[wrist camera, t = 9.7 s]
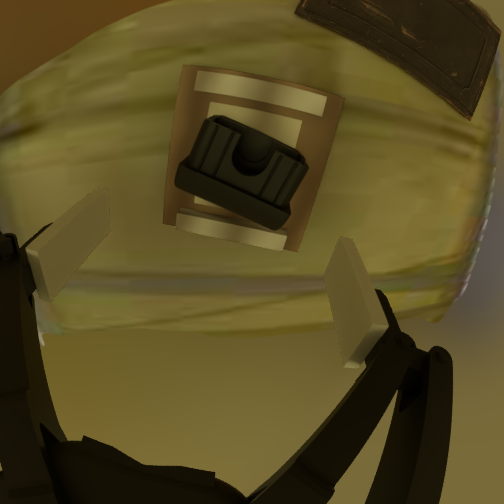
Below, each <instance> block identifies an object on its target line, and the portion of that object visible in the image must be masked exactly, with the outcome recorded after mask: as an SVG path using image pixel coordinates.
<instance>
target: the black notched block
mask: <svg viewBox="0 0 504 504" xmlns="http://www.w3.org/2000/svg"><path fill="white" fill-rule="evenodd" d="M308 170H309V166H308V164H307V163H306V159H305V157H304V156H303V155H302V154H300V152H299V151H298V150H296V149H294V148H292V147H290V146H288V145H286V144H284V143H282V142H280V141H278V140H276V139H274V138H272V137H270V136H268V135H266V134H264V133H262V132H260V131H258V130H256V129H253V128H251V127H249V126H247V125H245V124H242V123H240V122H238V121H236V120H233V119H231V118H229V117H226V116H224V115H213V116H211V117H209V118H207V119H204V121H203V123H202V126H201V128H200V130H199V133H198V135H197V137H196V140H195V142H194V145H193V147H192V149H191V152H190V154H189V155H188V156H187V157H186V158H185V159H184V160H182V161H181V162H180V163H179V166H178V168H177V171H176V175H175V180H174V185H175V187H176V188H178V189H181V190H183V191H185V192H188V193H190V194H192V195H194V196H197V197H199V198H201V199H204V200H206V201H208V202H210V203H213V204H215V205H217V206H219V207H222V208H224V209H226V210H228V211H231V212H233V213H235V214H237V215H239V216H242V217H244V218H246V219H248V220H250V221H253V222H255V223H257V224H259V225H261V226H264V227H266V228H268V229H270V230H272V231H277V230H279V229H280V228H281V227H282V226H283V225H284V224H285V223H286V221H287V220H288V219H289V217H290V215H291V209H290V201H291V199H292V197H293V195H294V194H295V192H296V190H297V189H298V187H299V185H300V183H301V182H302V180H303V178H304V177H305V175H306V173H307V171H308Z"/></svg>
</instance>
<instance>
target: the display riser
mask: <svg viewBox="0 0 504 504" xmlns="http://www.w3.org/2000/svg"><path fill="white" fill-rule="evenodd" d="M344 100H345V98H343V97H340V96H337V95H334V94H331V93H327V92H324V91H321V90H317V89H314V88H310V87H307V86H303V85H299V84H295V83H291V82H287V81H283V80H278V79H274V78H269V77H265V76H260V75H255V74H249V73H244V72H238V71H231V70H225V69H217V68H210V67H201V66H191V65H183V67H182V72H181V77H180V83H179V88H178V94H177V100H176V106H175V113H174V119H173V126H172V133H171V141H170V149H169V158H168V167H167V176H166V187H165V199H164V212H163V224H167V225H172V226H176V229H177V230H182V231H187V232H191V233H196V234H201V235H206V236H211V237H215V238H220V239H225V240H230V241H234V242H239V243H244V244H248V245H253V246H258V247H262V248H267V249H272V250H276V251H281V252H282V251H283V249H286V250H290V251H295V252H298V249H299V246H300V243H301V240H302V237H303V234H304V231H305V228H306V225H307V222H308V219H309V216H310V213H311V210H312V207H313V204H314V201H315V198H316V195H317V191H318V188H319V185H320V182H321V179H322V175H323V172H324V169H325V166H326V162H327V159H328V156H329V152H330V149H331V146H332V142H333V139H334V135H335V132H336V128H337V125H338V121H339V118H340V114H341V111H342V107H343V103H344ZM213 115H224V116H226V117H229V118H231V119H233V120H236V121H238V122H240V123H242V124H245V125H247V126H249V127H251V128H253V129H256V130H258V131H260V132H262V133H264V134H266V135H268V136H270V137H272V138H274V139H276V140H278V141H280V142H282V143H284V144H286V145H288V146H290V147H292V148H294V149H296V150H298V151H299V152H300V154H302V155H303V156H304V157H305V159H306V163H307V164H308V166H309V170H308V171H307V173H306V175H305V177H304V178H303V180H302V182H301V183H300V185H299V187H298V189H297V190H296V192H295V194H294V195H293V197H292V199H291V201H290V209H291V215H290V217H289V219H288V220H287V221H286V223H285V224H284V225H283V226H282V227H281V228H280V229H279V230H277V231H272V230H270V229H268V228H266V227H264V226H261V225H259V224H257V223H255V222H253V221H250V220H248V219H246V218H244V217H242V216H239V215H237V214H235V213H233V212H231V211H228V210H226V209H224V208H222V207H219V206H217V205H215V204H213V203H210V202H208V201H206V200H204V199H201V198H199V197H197V196H194V195H192V194H190V193H188V192H185V191H183V190H181V189H178V188H176V187H175V185H174V180H175V175H176V171H177V168H178V166H179V163H180V162H181V161H182V160H184V159H185V158H186V157H187V156H188V155H189V154H190V152H191V149H192V147H193V145H194V142H195V140H196V137H197V135H198V133H199V130H200V128H201V126H202V123H203V121H204V119H207V118H209V117H211V116H213Z"/></svg>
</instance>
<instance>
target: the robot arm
mask: <svg viewBox="0 0 504 504" xmlns="http://www.w3.org/2000/svg"><path fill="white" fill-rule="evenodd" d="M109 232H110V210H109V189H105V188H97V189H96V190H94V191H93V192H91V193H90V194H89V195H87V196H86V197H85V198H84V199H82V200H81V201H80V202H78V203H77V204H76V205H75V206H73V207H72V208H71V209H70V210H68V211H67V212H66V213H65V214H63V215H62V216H61V217H60V218H59V219H57V220H56V221H55V222H54V223H53V222H52V223H50V224H48V225H46V226H44V227H43V228H42V229H41V230H39V231H38V233H36V234H35V235H34V236H33V237H31V238H30V239H29V240H28V241H27V242H26V243H25V244H24V245H23V246H22V247H21V248H19V246H18V242H17V237H16V235H15V234H12V233H6V234H3V235H2V234H1V233H0V463H1V466H2V471H0V504H327V502H328V501H329V500H330V499H331V497H332V496H333V494H334V492H335V490H334V487H335V485H336V483H337V482H338V481H339V479H340V478H341V477H342V476H343V474H344V473H345V472H346V470H347V469H348V467H349V466H350V465H351V463H352V462H353V461H354V459H355V458H356V456H357V455H358V454H359V452H360V451H361V449H362V448H363V446H364V445H365V443H366V441H367V440H368V439H369V437H370V435H371V434H372V432H373V431H374V429H375V428H376V426H377V424H378V423H379V421H380V419H381V418H382V416H383V414H384V413H385V411H386V409H387V407H388V405H389V404H390V402H391V400H392V398H393V396H394V395H395V393H396V391H397V390H398V393H397V398H396V403H395V408H394V412H393V416H392V420H391V424H390V428H389V432H388V436H387V439H386V443H385V446H384V450H383V453H382V456H381V460H380V463H379V466H378V469H377V472H376V475H375V478H374V481H373V483H372V486H371V489H370V492H369V494H368V497H367V499H366V502H365V504H439V501H440V497H441V492H442V487H443V482H444V476H445V471H446V465H447V458H448V451H449V443H450V434H451V422H452V403H453V364H452V363H453V362H452V358H451V356H450V354H449V353H448V351H447V350H445V349H444V348H442V347H439V346H434V347H432V348H431V349H430V350H429V352H426V351H423V350H420V349H418V348H416V345H415V342H414V341H413V339H412V338H411V337H410V336H409V335H407V334H405V333H404V332H401V330H400V328H399V325H398V323H397V320H396V318H395V316H394V313H392V312H393V311H392V308H391V307H390V304H389V301H388V299H387V297H386V296H385V295H384V294H383V293H382V291H381V290H377V289H374V287H373V284H372V282H371V280H370V277H369V275H368V273H367V271H366V268H365V266H364V264H363V262H362V259H361V257H360V255H359V253H358V251H357V248H356V246H355V244H354V242H353V240H352V239H350V238H346V237H342V236H340V237H339V239H338V242H337V244H336V247H335V249H334V252H333V254H332V257H331V259H330V262H329V264H328V266H327V269H326V271H325V273H324V279H325V284H326V288H327V292H328V297H329V301H330V306H331V310H332V315H333V320H334V324H335V329H336V333H337V339H338V344H339V349H340V354H341V359H342V365H343V367H347V368H359V367H360V365H361V364H362V363H363V361H364V360H365V364H366V368H365V370H364V371H363V372H362V373H361V375H360V376H359V377H358V378H357V379H356V382H355V383H354V385H353V386H352V387H351V388H350V390H349V391H348V392H347V394H346V395H345V396H344V398H343V399H342V400H341V401H340V403H339V404H338V405H337V406H336V408H335V409H334V410H333V411H332V412H331V414H330V415H329V416H328V417H327V418H326V420H325V421H324V422H323V423H322V424H321V425H320V427H319V428H318V429H317V430H316V431H315V432H314V433H313V435H312V436H311V437H310V438H309V439H308V440H307V441H306V442H305V443H304V444H303V445H302V446H301V448H300V449H299V450H298V451H297V452H296V453H295V454H294V455H293V456H292V457H291V458H290V459H289V460H288V461H287V462H286V463H285V464H284V465H283V466H282V467H281V468H280V469H279V470H278V471H277V472H276V473H275V474H274V475H272V476H271V477H270V479H268V480H267V481H266V482H264V483H263V484H262V485H261V486H259V487H258V488H257V489H256V490H255V491H254V492H252V493H251V494H250V495H249V496H248V497H245V496H244V495H243V494H242V493H241V492H240V491H238V490H237V489H236V488H234V487H233V486H231V485H230V484H228V483H226V482H224V481H222V480H220V479H217V478H215V472H211V471H205V470H199V469H194V468H189V467H183V466H153V465H143V464H141V463H140V462H138V461H136V460H134V459H132V458H131V457H129V456H127V455H126V454H124V453H122V452H121V451H119V450H118V449H116V448H114V447H113V446H110V445H107V444H104V443H102V442H99V441H97V440H94V439H92V438H89V437H87V436H83V438H82V441H68V440H67V438H66V436H65V434H64V432H63V431H62V429H61V427H60V425H59V422H58V419H57V416H56V413H55V409H54V406H53V402H52V399H51V395H50V391H49V388H48V383H47V379H46V374H45V370H44V365H43V360H42V355H41V350H40V343H39V337H38V330H37V322H36V314H35V304H34V297H33V294H32V293H33V292H34V291H35V289H37V292H38V295H39V298H40V299H43V300H46V301H48V302H52V301H53V300H54V298H55V297H56V296H57V294H58V293H59V292H60V291H61V289H62V288H63V287H64V285H65V284H66V283H67V282H68V280H69V279H70V278H71V277H72V275H73V274H74V273H75V272H76V270H77V269H78V268H79V267H80V266H81V264H82V263H83V262H84V261H85V260H86V258H87V257H88V256H89V255H90V254H91V253H92V251H93V250H94V249H95V248H96V247H97V246H98V244H99V243H100V242H101V241H102V240H103V239H104V238H105V237H106V236H107V234H108V233H109Z"/></svg>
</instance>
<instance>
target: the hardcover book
mask: <svg viewBox="0 0 504 504" xmlns="http://www.w3.org/2000/svg"><path fill="white" fill-rule="evenodd" d="M294 14H297V15H299V16H301V17H304V18H306V19H309V20H311V21H314V22H316V23H318V24H321V25H323V26H325V27H328V28H330V29H332V30H334V31H336V32H338V33H340V34H342V35H344V36H346V37H348V38H350V39H352V40H354V41H356V42H358V43H360V44H362V45H364V46H366V47H367V48H369V49H371V50H373V51H374V52H376V53H378V54H380V55H381V56H383V57H385V58H386V59H388V60H389V61H391V62H393V63H394V64H396V65H397V66H399V67H400V68H402V69H404V70H405V71H407V72H408V73H409V74H411V75H412V76H414V77H415V78H417V79H418V80H419V81H421V82H422V83H424V84H425V85H426V86H428V87H429V88H430V89H432V90H433V91H434V92H436V93H437V94H438V95H439V96H441V97H442V98H443V99H444V100H446V101H447V102H448V103H449V104H451V105H452V106H453V107H454V108H455V109H456V110H458V111H459V112H460V113H461V114H462V115H464V116H465V117H466V118H467V119H468V120H469V121H471V118H472V116H473V114H474V111H475V109H476V107H477V104H478V102H479V99H480V97H481V94H482V91H483V89H484V86H485V83H486V81H487V78H488V75H489V72H490V69H491V66H492V63H493V60H494V57H495V54H496V50H497V47H498V44H499V40H500V36H501V31H500V29H499V28H498V27H497V26H496V25H495V24H494V23H493V22H492V21H491V20H490V19H489V18H488V17H487V16H486V15H485V14H484V13H483V12H482V11H481V10H480V9H479V8H477V7H476V6H475V5H474V4H473V3H472V2H471V1H470V0H300V2H299V4H298V6H297V8H296V10H295V12H294Z"/></svg>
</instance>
